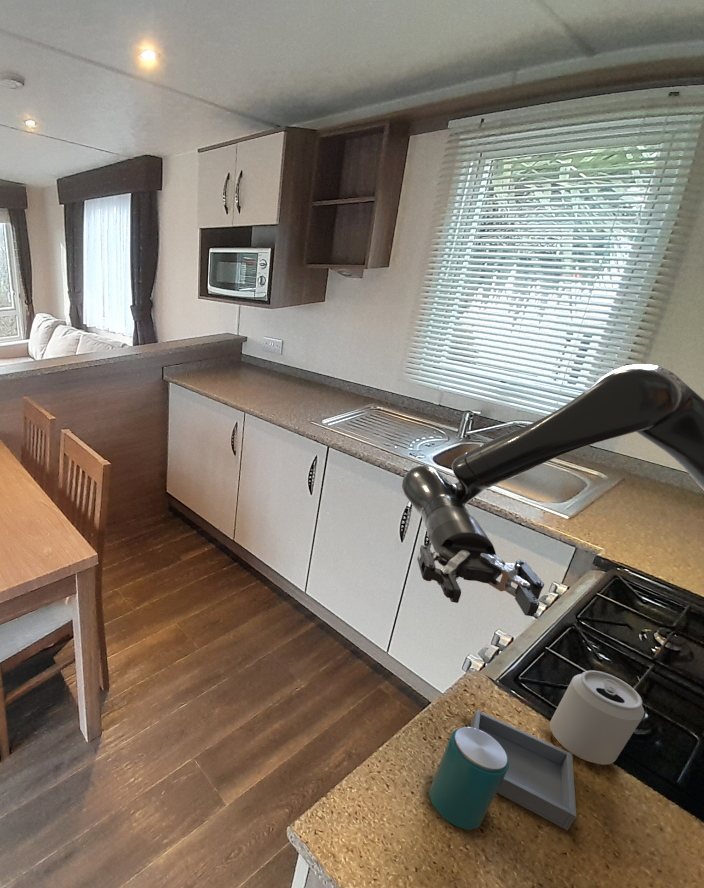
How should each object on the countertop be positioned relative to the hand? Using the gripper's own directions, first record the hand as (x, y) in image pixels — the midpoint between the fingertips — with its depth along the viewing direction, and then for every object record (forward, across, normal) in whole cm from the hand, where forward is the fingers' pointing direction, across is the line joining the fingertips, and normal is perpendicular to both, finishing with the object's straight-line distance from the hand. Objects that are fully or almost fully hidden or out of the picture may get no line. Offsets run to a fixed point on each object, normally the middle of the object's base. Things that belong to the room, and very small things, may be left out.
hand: (493, 604), depth 64 cm
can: (-4, +18, +26) cm, 32 cm away
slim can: (+12, -2, +25) cm, 28 cm away
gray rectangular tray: (+4, +7, +25) cm, 27 cm away
